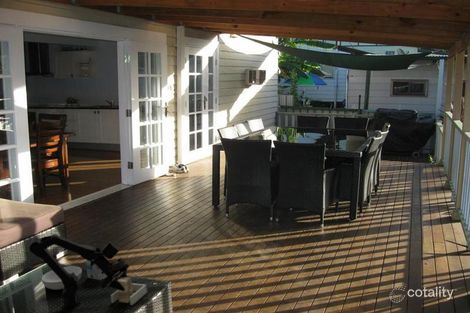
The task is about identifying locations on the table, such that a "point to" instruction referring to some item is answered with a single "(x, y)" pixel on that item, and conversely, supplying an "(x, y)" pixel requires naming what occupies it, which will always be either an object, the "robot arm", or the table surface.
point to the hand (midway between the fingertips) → (127, 287)
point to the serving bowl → (54, 281)
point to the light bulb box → (94, 271)
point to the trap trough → (138, 292)
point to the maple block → (128, 289)
